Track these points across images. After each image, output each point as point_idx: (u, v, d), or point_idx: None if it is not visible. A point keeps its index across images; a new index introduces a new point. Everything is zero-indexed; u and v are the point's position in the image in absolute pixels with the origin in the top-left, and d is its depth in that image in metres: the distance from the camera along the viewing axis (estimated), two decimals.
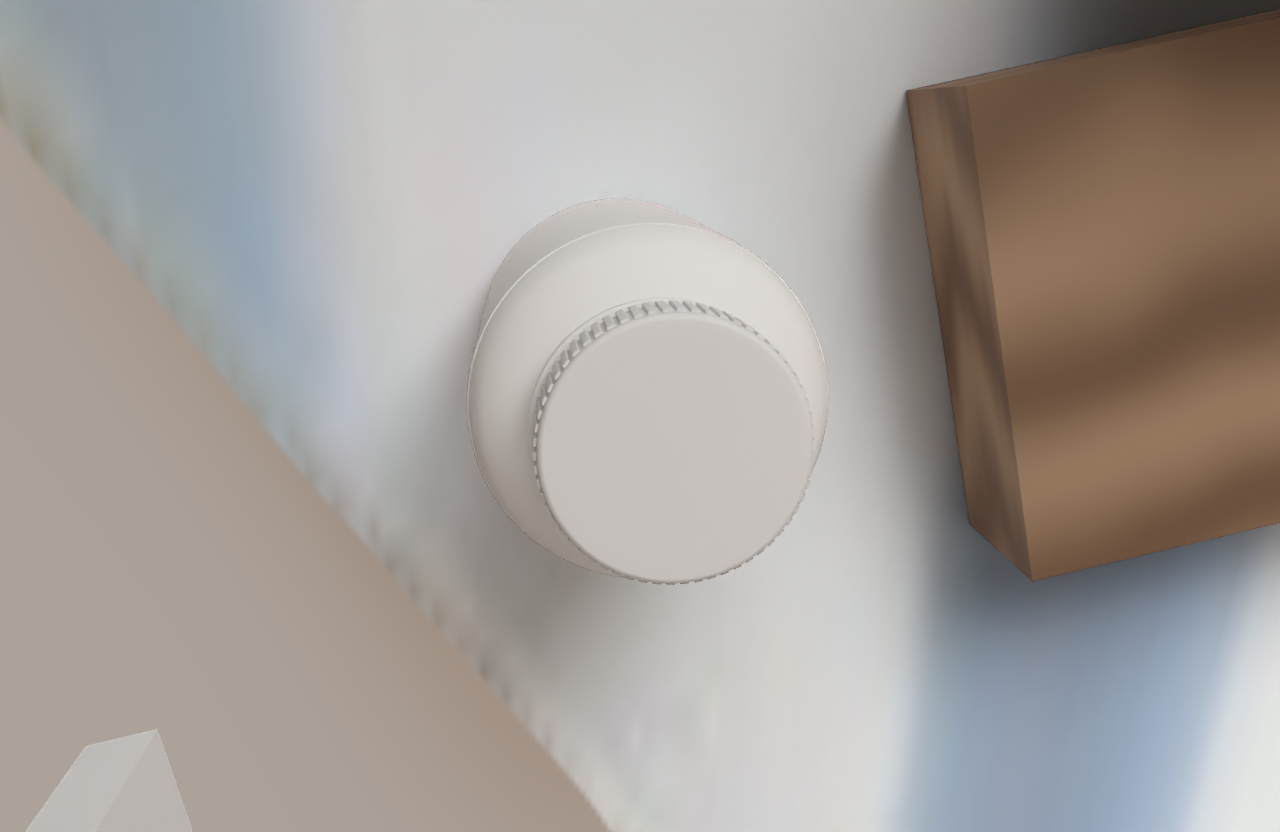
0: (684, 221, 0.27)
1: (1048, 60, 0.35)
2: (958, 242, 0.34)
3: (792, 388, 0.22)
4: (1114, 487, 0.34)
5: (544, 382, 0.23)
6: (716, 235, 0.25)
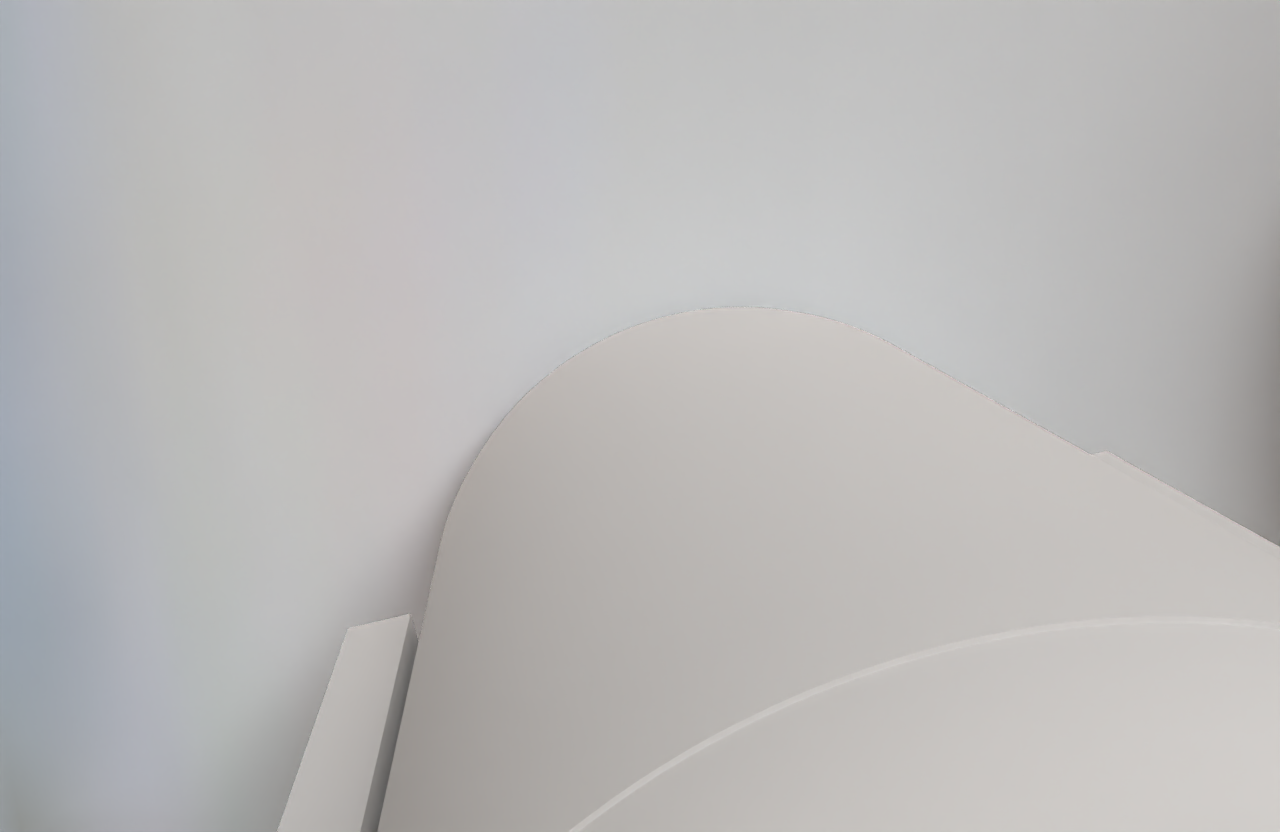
0: (1151, 516, 0.07)
1: None
2: None
3: None
4: None
5: None
6: None
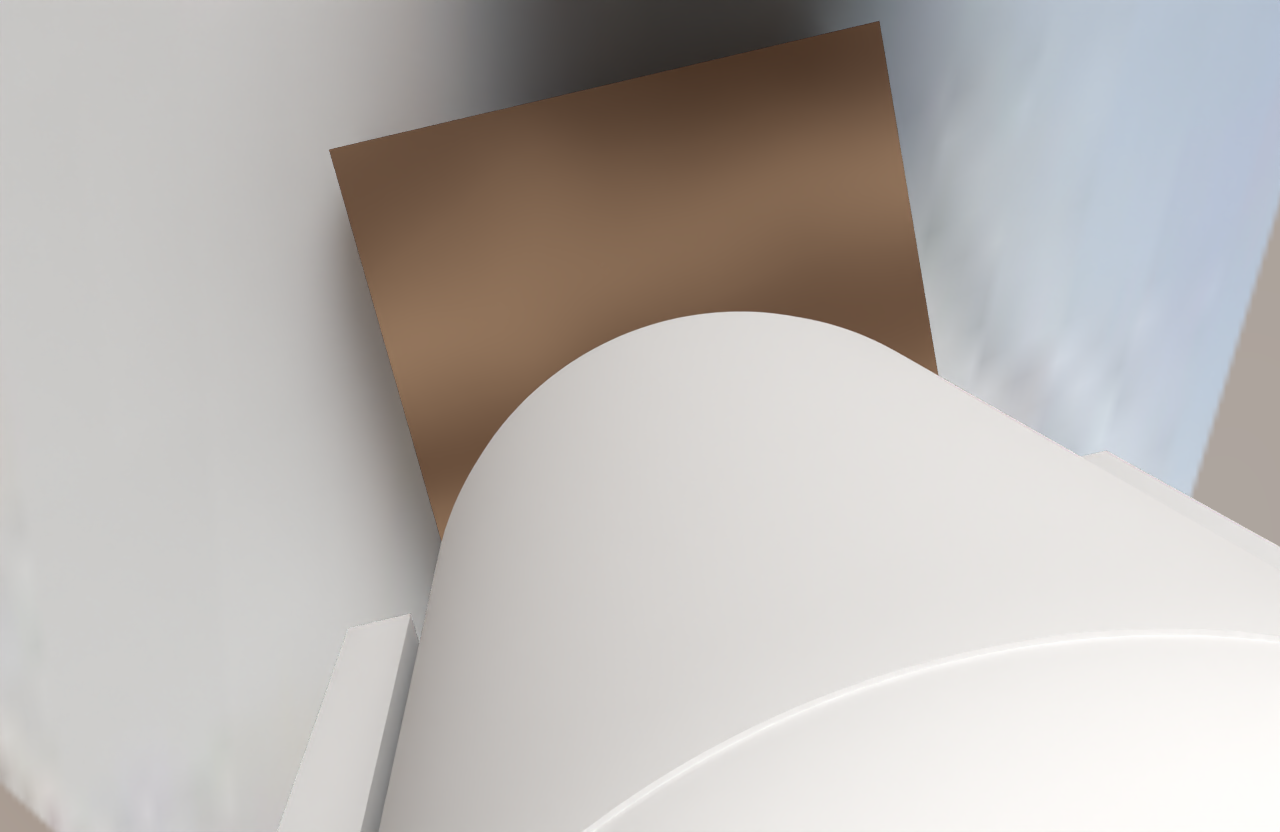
0: (1149, 526, 0.07)
1: None
2: None
3: None
4: None
5: None
6: None
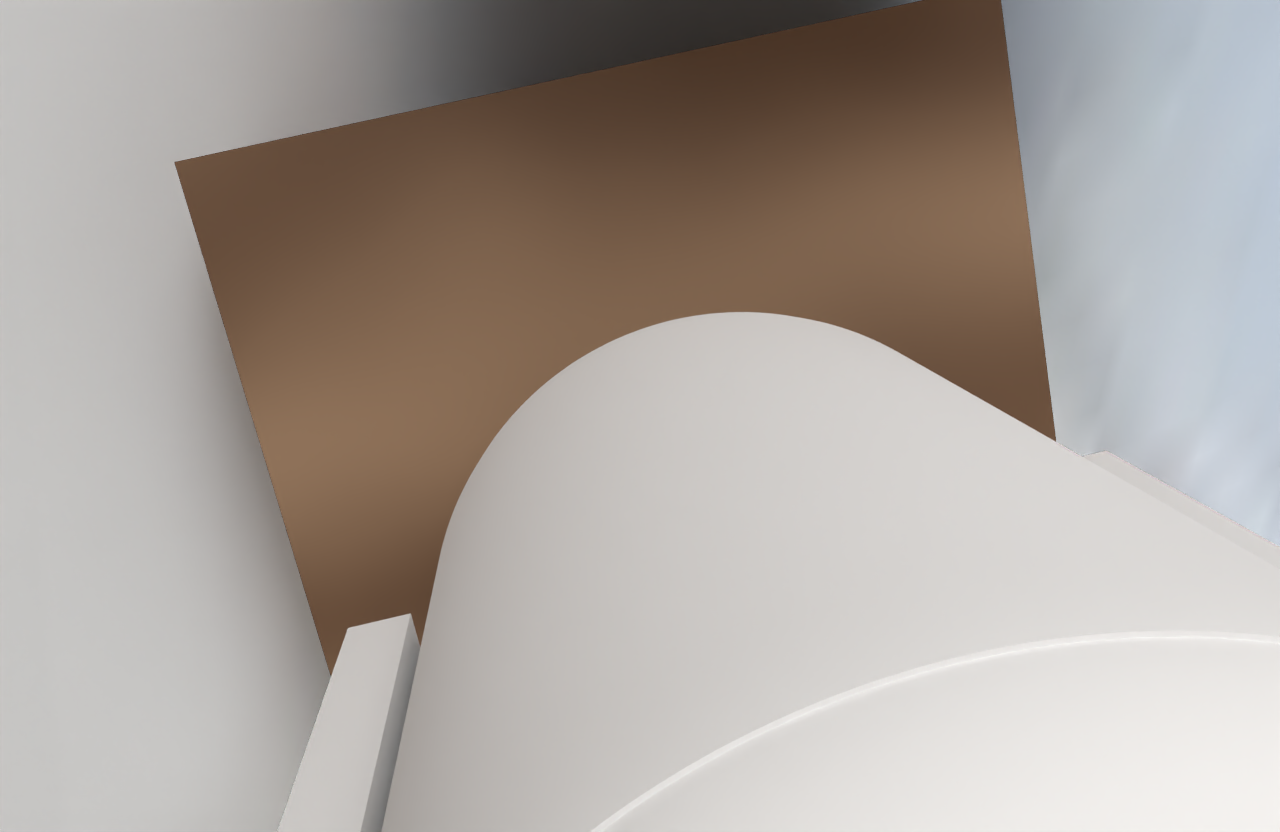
0: (1153, 527, 0.07)
1: None
2: None
3: None
4: None
5: None
6: None
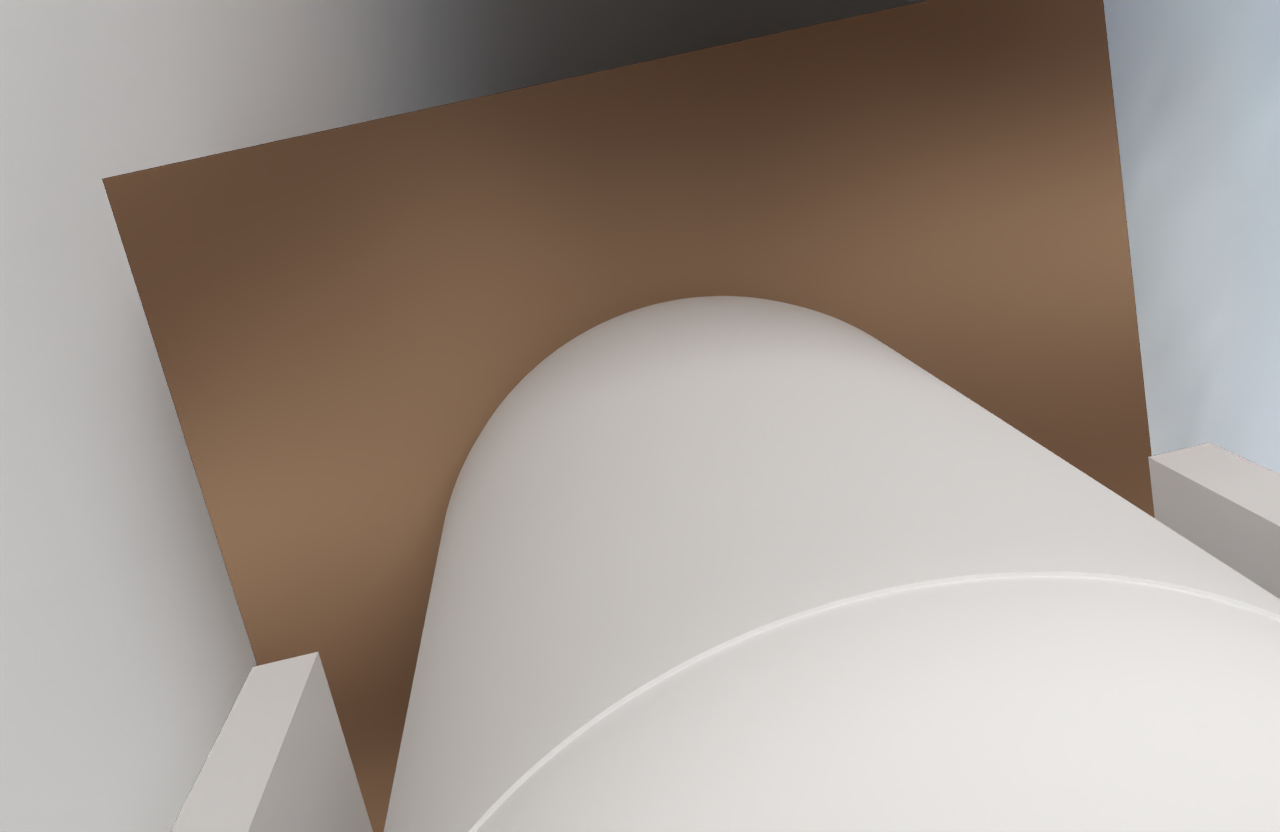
0: (1050, 490, 0.08)
1: None
2: None
3: None
4: None
5: None
6: (1250, 606, 0.07)
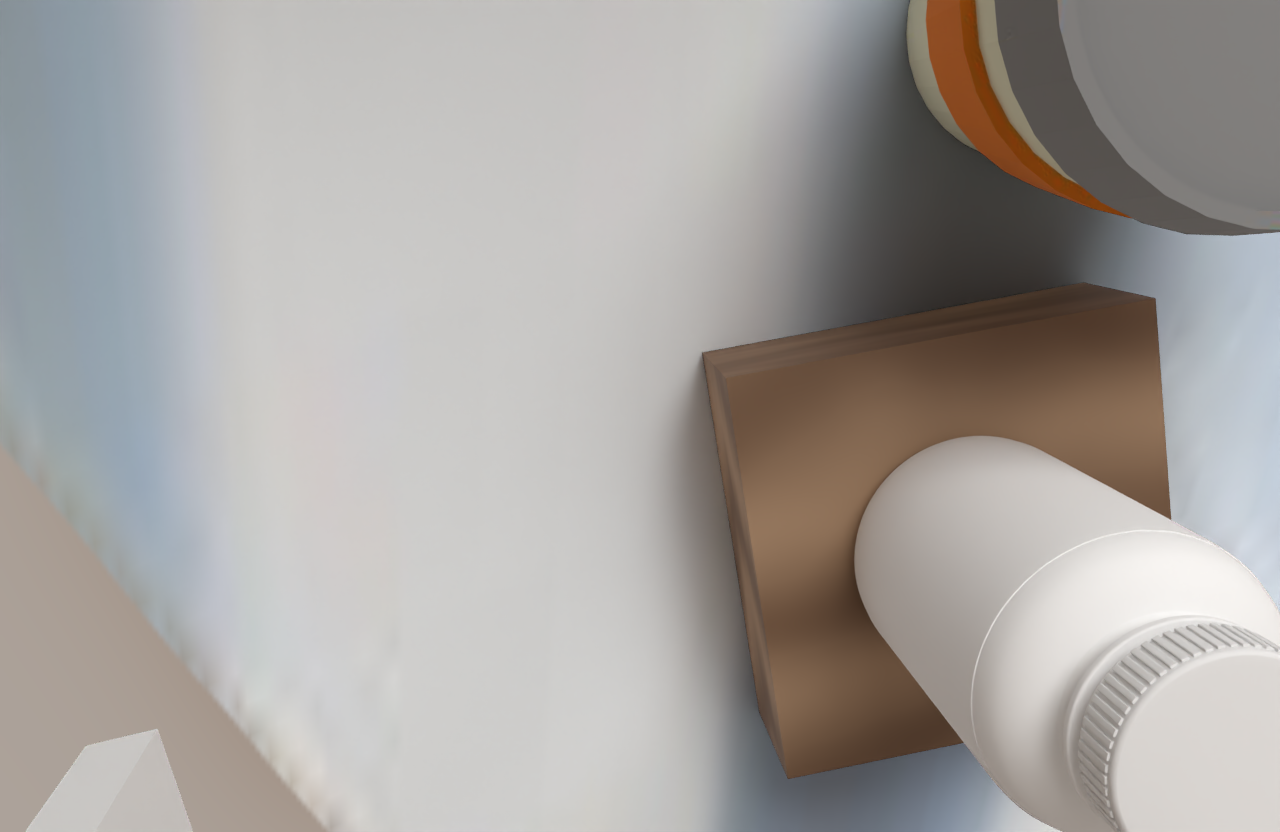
0: (1151, 514, 0.30)
1: (820, 334, 0.42)
2: (734, 490, 0.40)
3: None
4: (857, 703, 0.40)
5: (1088, 688, 0.26)
6: (1205, 540, 0.28)
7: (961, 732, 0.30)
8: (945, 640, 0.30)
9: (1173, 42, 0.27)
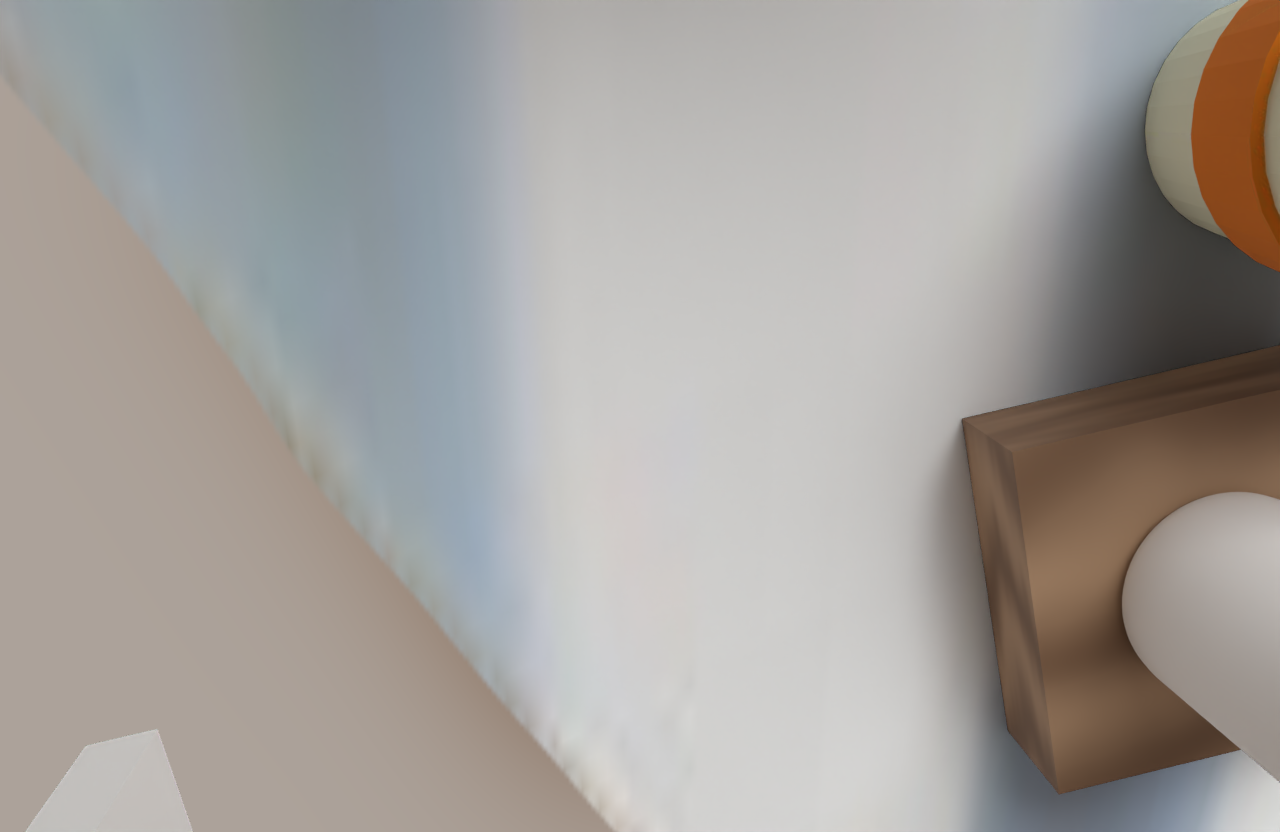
0: None
1: (1069, 398, 0.47)
2: (1003, 543, 0.46)
3: None
4: (1120, 726, 0.45)
5: None
6: None
7: None
8: (1261, 690, 0.35)
9: None
